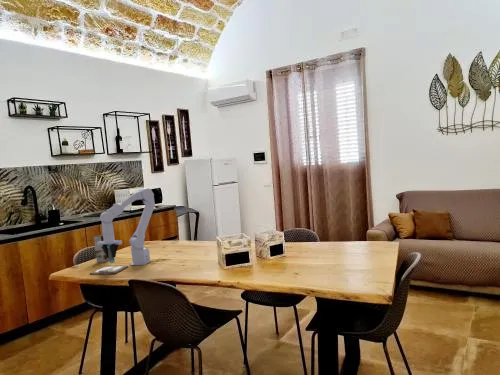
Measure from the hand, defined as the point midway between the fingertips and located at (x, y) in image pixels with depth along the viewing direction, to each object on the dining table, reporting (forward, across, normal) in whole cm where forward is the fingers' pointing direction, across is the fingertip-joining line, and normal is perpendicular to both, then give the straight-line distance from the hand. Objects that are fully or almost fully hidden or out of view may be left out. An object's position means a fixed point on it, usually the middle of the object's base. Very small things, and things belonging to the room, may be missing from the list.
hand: (111, 257), depth 208 cm
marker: (+3, 0, 0) cm, 3 cm away
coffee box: (+7, -20, +21) cm, 30 cm away
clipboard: (+7, -1, -2) cm, 7 cm away
